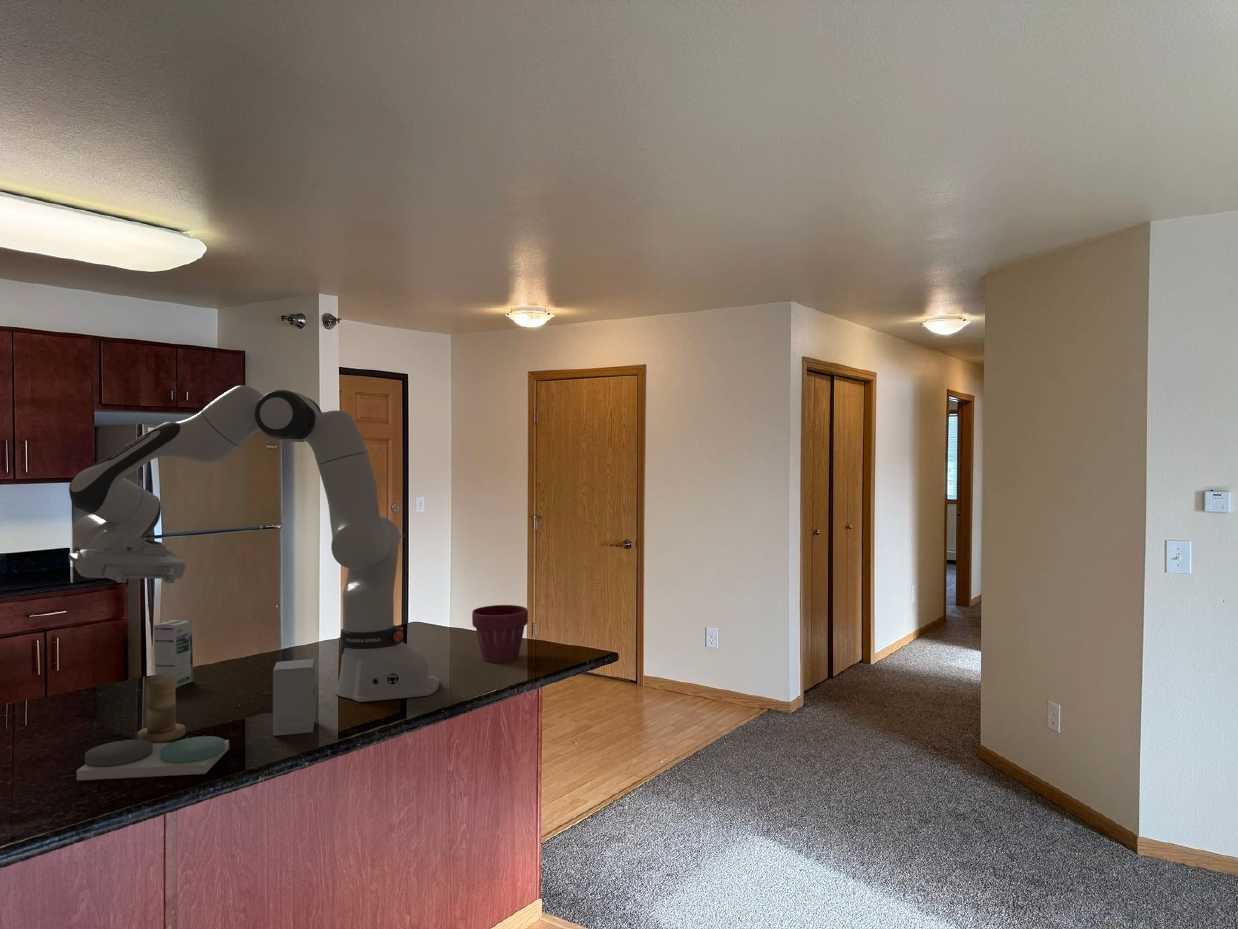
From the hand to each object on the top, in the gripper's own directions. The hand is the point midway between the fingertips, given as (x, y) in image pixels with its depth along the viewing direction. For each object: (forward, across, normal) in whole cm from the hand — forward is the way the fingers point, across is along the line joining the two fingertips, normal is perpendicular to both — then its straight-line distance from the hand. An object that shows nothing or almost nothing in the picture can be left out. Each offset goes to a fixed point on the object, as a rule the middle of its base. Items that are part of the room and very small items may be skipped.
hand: (148, 579), depth 169 cm
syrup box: (-14, +20, +31) cm, 40 cm away
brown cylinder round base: (+20, 0, +24) cm, 31 cm away
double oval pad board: (+34, -8, +21) cm, 40 cm away
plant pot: (+28, +80, +10) cm, 85 cm away
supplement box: (+36, +17, +17) cm, 43 cm away
